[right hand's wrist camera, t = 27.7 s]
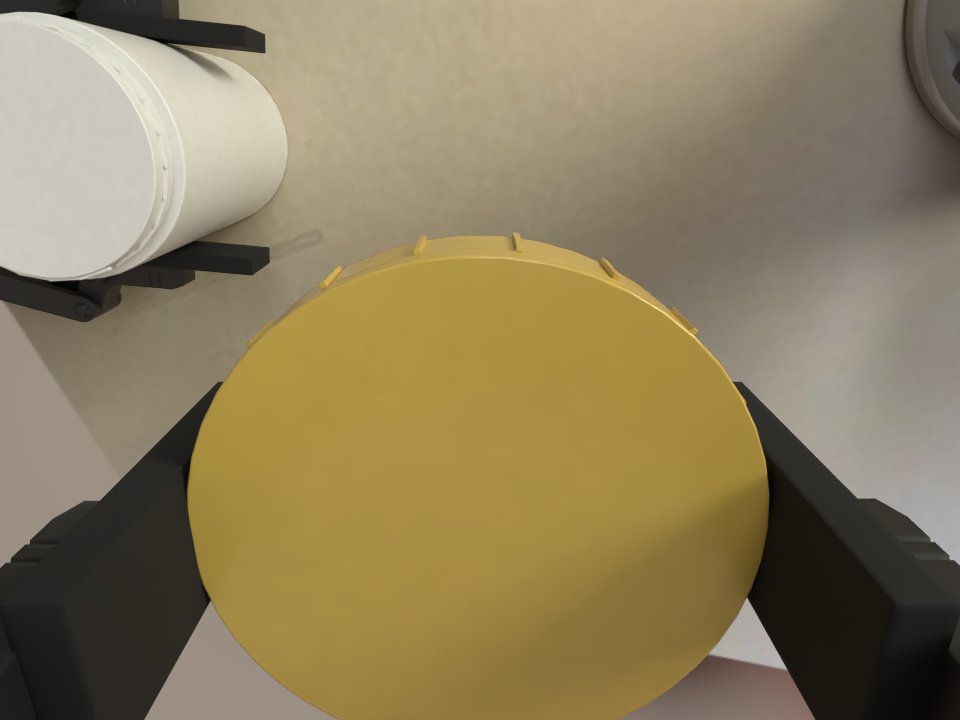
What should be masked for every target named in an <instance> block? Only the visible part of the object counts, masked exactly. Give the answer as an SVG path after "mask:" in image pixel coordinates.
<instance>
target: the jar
mask: <svg viewBox="0 0 960 720" xmlns="http://www.w3.org/2000/svg"><path fill="white" fill-rule="evenodd" d="M287 154H288V146H287V136H286V131H285V126H284V124H283V121H282V118H281V115H280V113H279V111H278V108H277V106H276V104H275V103H274V101H273V100H272V98H271V96H270V95H269V93H268V92H267V91H266V90H265V88H264V87H263V86H262V85H261V84H260V83H259V82H258V81H257V80H256V79H255V78H254V77H253V76H252V75H251V74H249V73H248V72H247V71H246V70H244V69H243V68H241V67H240V66H238V65H236V64H235V63H233V62H231V61H228V60H226V59H224V58H221V57H218V56H215V55H211V54H207V53H203V52H199V51H195V50H191V49H187V48H183V47H179V46H175V45H171V44H167V43H163V42H159V41H155V40H151V39H147V38H143V37H140V36H136V35H132V34H128V33H124V32H120V31H116V30H112V29H108V28H104V27H100V26H96V25H92V24H88V23H84V22H80V21H76V20H72V19H68V18H64V17H60V16H56V15H50V14H44V13H38V12H13V13H5V14H0V266H1V267H3V268H6V269H8V270H10V271H13V272H15V273H17V274H18V275H22V276H27V277H33V278H38V279H43V280H49V281H67V280H83V279H96V278H104V277H109V276H112V275H116V274H120V273H122V272H125V271H127V270H129V269H132V268H134V267H136V266H139V265H141V264H143V263H145V262H148V261H150V260H152V259H154V258H157V257H159V256H161V255H163V254H166V253H168V252H170V251H172V250H175V249H177V248H179V247H181V246H183V245H186V244H188V243H190V242H192V241H195V240H197V239H199V238H201V237H204V236H206V235H208V234H210V233H213V232H215V231H217V230H219V229H222V228H224V227H226V226H228V225H231V224H233V223H235V222H237V221H240V220H242V219H244V218H246V217H249V216H251V215H252V214H254V213H256V212H257V211H259V210H260V209H261V208H262V207H264V206H265V205H266V204H267V203H268V202H269V201H270V199H271V198H272V197H273V196H274V194H275V193H276V191H277V190H278V188H279V186H280V184H281V182H282V179H283V176H284V173H285V170H286V164H287Z"/></svg>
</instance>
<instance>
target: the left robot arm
mask: <svg viewBox="0 0 960 720" xmlns="http://www.w3.org/2000/svg"><path fill="white" fill-rule="evenodd" d="M13 12H38V13H44V14H50V15H56V16H60V17H64V18H68V19H72V20H76V21H80V22H84V23H88V24H92V25H96V26H100V27H104V28H108V29H112V30H116V31H120V32H124V33H128V34H132V35H136V36H140V37H143V38H147V39H151V40H155V41H159V42H163V43H171V44H180V45H190V46H199V47H209V48H219V49H228V50H238V51H247V52H257V53H265V34H263V33H260V32H258V31H256V30H253V29H251V28H248V27H246V26H240V25H231V24H221V23H212V22H202V21H193V20H184V19H179V3H178V0H0V14H5V13H13ZM268 263H270V259H269V247H258V246H247V245H236V244H225V243H214V242H203V241H192V242H190V243H188V244H186V245H183V246H181V247H179V248H177V249H175V250H172V251H170V252H168V253H166V254H163V255H161V256H159V257H157V258H154V259H152V260H150V261H148V262H145V263H143V264H141V265H139V266H136V267H134V268H132V269H129V270H127V271H125V272H122V273H120V274H116V275H112V276H109V277H104V278H96V279H83V280H67V281H49V280H43V279H38V278H33V277H27V276H22V275H18V274H17V273H15V272H13V271H10V270H8V269H6V268H3V267H1V266H0V300H3V301H6V302H10V303H14V304H17V305H21V306H25V307H28V308H32V309H36V310H40V311H43V312H47V313H51V314H54V315H58V316H62V317H65V318H69V319H73V320H77V321H80V322H87V321H91V320H92V319H94V318H96V317H98V316H100V315H102V314H104V313H105V312H107V311H109V310H111V309H113V308H115V307H117V306H118V305H119V304H120V302H121V294H120V292H119V291H120V288H121V285H129V286H141V287H152V288H164V289H175V288H178V287H181V286H184V285H186V284H187V283H189V282H191V281H192V280H194V279H195V270H198V271H209V272H221V273H232V274H243V275H253V274H255V273H256V272H257V271H259V270H260V269H262V268H263V267H264V266H266V265H267V264H268Z"/></svg>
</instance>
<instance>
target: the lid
mask: <svg viewBox="0 0 960 720" xmlns="http://www.w3.org/2000/svg"><path fill="white" fill-rule="evenodd" d="M696 333H698V331H697V330H696V329H695V328H694V327H693V326H692V325H691V324H690V323H689V322H688V321H687V320H686V319H685V318H684V317H683V316H682V315H681V314H680V313H679V312H678V311H677V310H676V309H675V308H674V307H673V308H672V309H670V310H668V309H667V308H666V307H665V306H664V305H663V304H662V303H660V302H659V301H658V300H657V299H656V298H654V297H653V296H652V295H651V294H649V293H648V292H647V291H646V290H645V289H643V288H642V287H641V286H640V285H638V284H637V283H635V282H633V281H632V280H630V279H628V278H627V277H625V276H623V275H622V274H620V273H619V272H617V271H616V270H615V269H614V268H613V266H612V265H611V264H610V263H609V262H608V261H607V260H606V259H604V258H601V259H600V261H599V262H597V261H595V260H593V259H590V258H588V257H586V256H583V255H581V254H579V253H576V252H574V251H570V250H567V249H563V248H560V247H556V246H553V245H549V244H545V243H542V242H538V241H532V240H525V239H521V237H520V234H519V233H514V232H513V235H512V238H511V237H504V236H455V237H447V238H439V239H431V240H427V238H426V235H423V236H419V238H418V240H417V242H415V243H412V244H408V245H404V246H400V247H396V248H392V249H389V250H386V251H383V252H381V253H378V254H376V255H373V256H371V257H369V258H366V259H364V260H361V261H359V262H356V263H354V264H352V265H350V266H348V267H347V268H345V269H343V270H342V269H341V267H340V266H337V267H336V268H334V269H333V270H332V271H331V272H330V273H329V274H328V275H327V276H326V277H325V278H324V279H323V280H322V282H321V283H320V284H319V285H317V286H316V287H315V288H313V289H312V290H311V291H310V292H308V293H307V294H306V295H305V296H303V297H302V298H301V299H299V300H298V301H297V302H296V303H294V304H293V305H292V306H291V307H290V308H289V309H288V310H287V311H286V312H285V313H284V314H283V315H282V316H281V317H280V318H279V319H278V320H277V321H274V320H273V319H271V320H270V321H269V322H268V323H267V324H266V325H265V326H264V327H263V328H262V329H261V330H260V331H259V332H258V333H257V334H256V335H255V336H254V337H253V338H252V339H251V340H250V341H249V342H248V343H247V344H246V345H247V346H248V347H250V349H249V350H248V351H247V352H246V353H245V354H244V355H243V356H242V357H241V359H240V360H239V361H238V362H237V363H236V365H235V366H234V368H233V369H232V371H231V372H230V374H229V375H228V376H227V378H226V379H225V381H224V382H223V384H222V385H221V386H220V388H219V389H218V391H217V393H216V395H215V397H214V399H213V401H212V403H211V405H210V407H209V409H208V411H207V413H206V414H205V417H204V419H203V421H202V423H201V427H200V430H199V433H198V437H197V440H196V443H195V447H194V450H193V453H192V457H191V464H190V471H189V479H188V486H187V507H188V514H189V520H190V525H191V531H192V536H193V541H194V547H195V552H196V557H197V563H198V567H199V572H200V576H201V579H202V582H203V585H204V587H205V589H206V591H207V593H208V595H209V597H210V599H211V601H212V603H213V605H214V607H215V609H216V611H217V613H218V615H219V616H220V618H221V619H222V621H223V622H224V623H225V625H226V626H227V628H228V629H229V631H230V632H231V634H232V635H233V636H234V638H235V639H236V640H237V642H238V643H239V644H240V645H241V646H242V647H243V648H244V650H245V651H246V652H247V653H248V654H249V655H250V656H251V657H252V658H253V660H254V661H255V662H256V663H257V664H258V665H259V666H260V667H262V668H263V669H264V670H265V671H266V672H267V673H268V674H270V675H271V676H272V677H273V678H274V679H275V680H276V681H277V682H279V683H280V684H281V685H282V686H284V687H285V688H287V689H288V690H290V691H291V692H292V693H294V694H295V695H297V696H298V697H300V698H301V699H303V700H304V701H305V702H307V703H309V704H311V705H312V706H314V707H316V708H318V709H320V710H322V711H323V712H325V713H327V714H329V715H331V716H333V717H334V718H337V719H339V720H618V719H620V718H622V717H624V716H625V715H627V714H629V713H631V712H633V711H635V710H637V709H639V708H641V707H642V706H644V705H646V704H648V703H649V702H651V701H652V700H654V699H655V698H657V697H658V696H660V695H661V694H663V693H664V692H666V691H667V690H668V689H670V688H671V687H673V686H674V685H675V684H676V683H678V682H679V681H680V680H681V679H682V678H683V677H685V676H686V675H687V674H688V673H689V672H690V671H692V670H693V669H694V668H695V667H696V666H697V665H698V664H699V663H700V662H701V661H702V660H703V659H704V658H705V657H706V656H707V654H708V653H709V652H710V651H711V650H712V649H713V648H714V647H715V646H716V645H717V644H718V642H719V641H720V640H721V638H722V637H723V635H724V634H725V633H726V631H727V630H728V628H729V627H730V626H731V624H732V623H733V621H734V620H735V618H736V617H737V615H738V613H739V611H740V609H741V608H742V606H743V604H744V602H745V600H746V598H747V596H748V594H749V592H750V590H751V588H752V586H753V583H754V580H755V577H756V574H757V572H758V569H759V566H760V563H761V560H762V556H763V551H764V546H765V541H766V535H767V530H768V519H769V485H768V477H767V468H766V460H765V457H764V453H763V450H762V446H761V442H760V439H759V435H758V432H757V428H756V426H755V424H754V422H753V419H752V417H751V415H750V413H749V411H748V409H747V406H746V401H745V399H744V398H743V397H742V396H741V394H740V393H739V391H738V390H737V388H736V387H735V385H734V384H733V382H732V381H731V379H730V378H729V376H728V374H727V373H726V371H725V370H724V368H723V367H722V365H721V364H720V363H719V362H718V361H717V360H716V359H715V358H714V357H713V355H712V354H711V353H710V352H709V351H708V350H707V349H706V348H705V347H704V346H703V344H702V343H701V342H700V341H699V340H698V339H697V338H696V337H695V336H694V335H695V334H696Z"/></svg>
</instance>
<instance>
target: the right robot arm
mask: <svg viewBox="0 0 960 720" xmlns="http://www.w3.org/2000/svg"><path fill="white" fill-rule="evenodd" d="M906 49H907V57H908V62H909V67H910V72H911V75H912V78H913V81H914V84H915V86H916V89H917V91H918V93H919V95H920V97H921V99H922V101H923V102H924V104H925V106H926V107H927V109H928V110H929V111H930V113H931V114H932V115H933V116H934V118H935V119H936V120H937V121H938V122H939V123H940V124H941V125H942V126H943V127H944V128H945V129H947V130H948V131H949V132H951V133H952V134H953V135H955V136H956V137H958V138H960V0H908V6H907V14H906ZM222 384H223V382H218V383H217V384H216V385H215V386H214V387H213V388H212V389H211V390H210V391H209V392H208V393H207V394H206V395H205V396H204V397H203V398H202V399H201V400H200V401H199V402H198V403H197V404H196V405H195V406H194V407H193V408H192V409H191V410H190V411H189V412H188V413H187V414H186V415H185V416H184V417H183V418H182V419H181V420H180V421H179V422H178V423H177V424H176V425H175V426H174V427H173V428H172V429H171V430H170V431H169V432H168V433H167V434H166V435H165V436H164V437H163V438H162V439H161V440H160V441H159V442H158V443H157V444H156V445H155V446H154V447H153V448H152V449H151V450H150V451H149V452H148V453H147V454H146V455H145V456H144V457H143V458H142V459H141V460H140V461H139V462H138V463H137V464H136V465H135V466H134V467H133V468H132V469H131V470H130V471H129V472H128V473H127V474H126V475H125V476H124V477H123V478H122V479H121V480H120V481H119V482H118V483H117V484H116V485H115V486H114V487H113V488H112V489H111V490H110V491H109V492H108V493H107V494H106V495H105V496H104V497H103V498H102V499H101V500H100V501H84V502H82V503H80V504H78V505H77V506H75V507H73V508H71V509H70V510H68V511H66V512H64V513H63V514H61V515H59V516H57V517H56V518H54V519H52V520H51V521H50V522H49V523H48V524H47V525H46V526H45V527H44V528H43V529H42V530H41V531H40V532H38V533H37V534H36V535H35V536H34V537H33V538H32V539H31V540H30V544H29V545H25V546H24V547H22V548H21V549H20V550H19V551H18V552H17V553H16V554H15V555H14V556H13V557H12V558H11V562H10V563H5V564H4V565H3V566H2V567H1V568H0V720H144V719H145V717H146V715H147V714H148V712H149V710H150V708H151V706H152V705H153V703H154V701H155V699H156V697H157V696H158V694H159V692H160V690H161V688H162V687H163V685H164V683H165V681H166V680H167V678H168V676H169V674H170V672H171V671H172V669H173V667H174V665H175V663H176V662H177V660H178V658H179V656H180V654H181V653H182V651H183V649H184V647H185V645H186V644H187V642H188V640H189V638H190V637H191V635H192V633H193V631H194V629H195V628H196V626H197V624H198V622H199V620H200V619H201V617H202V615H203V613H204V611H205V610H206V608H207V606H208V604H209V603H210V601H211V599H210V597H209V595H208V593H207V591H206V589H205V587H204V585H203V582H202V579H201V576H200V572H199V567H198V563H197V557H196V552H195V547H194V541H193V536H192V531H191V525H190V520H189V514H188V507H187V486H188V479H189V471H190V464H191V457H192V453H193V450H194V447H195V443H196V440H197V437H198V433H199V430H200V427H201V423H202V421H203V419H204V417H205V414H206V413H207V411H208V409H209V407H210V405H211V403H212V401H213V399H214V397H215V395H216V393H217V391H218V389H219V388H220V386H221V385H222ZM733 384H734V385H735V387H736V388H737V390H738V391H739V393H740V394H741V396H742V397H743V398H744V399H745V401H746V406H747V409H748V411H749V413H750V415H751V417H752V419H753V422H754V424H755V426H756V428H757V432H758V435H759V439H760V442H761V446H762V450H763V453H764V457H765V460H766V468H767V477H768V485H769V519H768V530H767V535H766V541H765V546H764V551H763V556H762V560H761V563H760V566H759V569H758V572H757V574H756V577H755V580H754V583H753V586H752V588H751V590H750V592H749V594H748V596H747V598H748V600H749V602H750V603H751V605H752V607H753V609H754V610H755V612H756V614H757V616H758V618H759V619H760V621H761V623H762V625H763V627H764V628H765V630H766V632H767V634H768V636H769V637H770V639H771V641H772V643H773V644H774V646H775V648H776V650H777V652H778V653H779V655H780V657H781V659H782V661H783V662H784V664H785V666H786V668H787V670H788V671H789V673H790V675H791V677H792V679H793V680H794V682H795V684H796V686H797V687H798V689H799V691H800V693H801V695H802V696H803V698H804V700H805V702H806V704H807V705H808V707H809V709H810V711H811V713H812V714H813V716H814V718H815V720H960V565H959V564H958V563H956V562H955V561H954V560H950V559H949V555H948V554H947V553H946V552H945V551H944V550H942V549H941V548H940V547H939V546H938V545H937V544H936V543H935V542H930V537H929V536H927V535H926V534H925V533H924V532H923V531H922V530H921V529H920V528H919V527H918V526H917V525H916V524H915V523H913V522H912V521H911V520H910V519H909V518H908V517H907V516H905V515H903V514H902V513H900V512H898V511H896V510H894V509H893V508H891V507H889V506H887V505H886V504H884V503H882V502H880V501H879V500H877V499H857V498H856V497H855V496H854V495H853V494H852V493H851V492H850V491H849V490H848V489H847V488H846V487H845V486H844V485H843V484H842V483H841V482H840V481H839V480H838V479H837V478H836V477H835V476H834V475H833V474H832V473H831V472H830V471H829V470H828V469H827V468H826V467H825V466H824V465H823V464H822V463H821V462H820V461H819V460H818V458H817V457H816V456H815V455H814V454H813V453H812V452H811V451H810V450H809V449H808V448H807V447H806V446H805V445H804V444H803V443H802V442H801V441H800V440H799V439H798V438H797V437H796V436H795V435H794V434H793V433H792V432H791V431H790V430H789V429H788V428H787V427H786V426H785V425H784V424H783V423H782V422H781V421H780V420H779V419H778V418H777V417H776V416H775V415H774V414H773V413H772V412H771V411H770V410H769V409H768V408H767V407H766V406H765V405H764V404H763V403H762V402H761V401H760V400H759V399H758V398H757V397H756V396H755V395H754V394H753V393H752V392H751V391H750V390H749V389H748V388H747V387H746V386H745V385H744V384H743V383H742V382H733Z"/></svg>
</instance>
